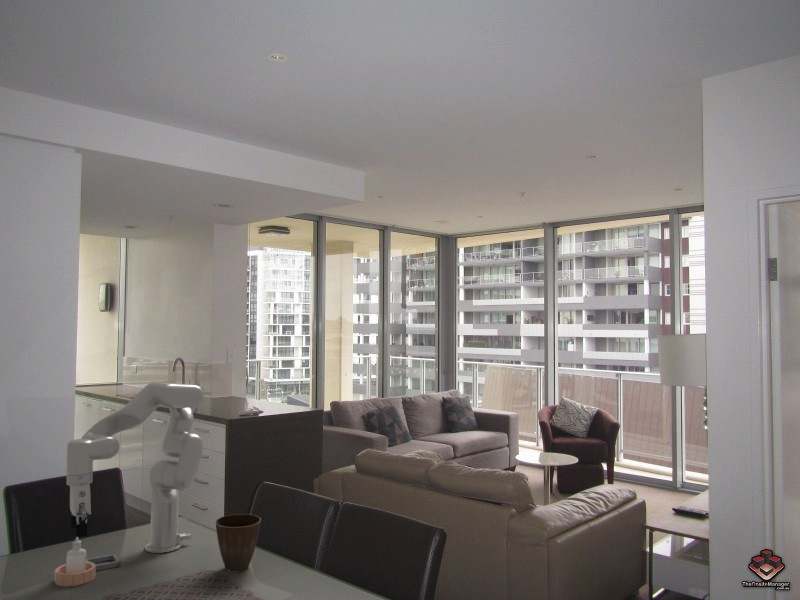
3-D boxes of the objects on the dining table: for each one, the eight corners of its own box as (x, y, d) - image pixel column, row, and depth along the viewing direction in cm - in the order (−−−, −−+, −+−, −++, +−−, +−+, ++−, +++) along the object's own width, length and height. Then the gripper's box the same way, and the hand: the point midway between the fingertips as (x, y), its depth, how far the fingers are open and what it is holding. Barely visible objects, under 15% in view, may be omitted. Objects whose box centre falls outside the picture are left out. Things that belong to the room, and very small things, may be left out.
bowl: (91, 569, 211) (91, 559, 211) (98, 581, 201) (98, 569, 202) (52, 577, 204) (53, 566, 204) (57, 589, 195) (58, 577, 195)
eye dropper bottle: (77, 579, 200) (79, 540, 201) (63, 577, 202) (64, 538, 202) (87, 574, 204) (89, 536, 205) (73, 572, 206) (75, 534, 206)
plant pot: (265, 571, 212) (267, 522, 212) (221, 579, 204) (222, 529, 205) (251, 557, 224) (253, 511, 225) (209, 565, 217) (210, 517, 218)
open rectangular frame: (114, 558, 221) (114, 554, 222) (120, 566, 214) (120, 561, 215) (84, 563, 216) (84, 559, 216) (88, 571, 209) (89, 567, 209)
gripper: (97, 482, 200) (96, 537, 199) (87, 471, 214) (86, 522, 213) (70, 485, 195) (69, 542, 195) (62, 474, 209) (61, 526, 209)
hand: (78, 531), depth 204 cm, fingers open, 9 cm apart
